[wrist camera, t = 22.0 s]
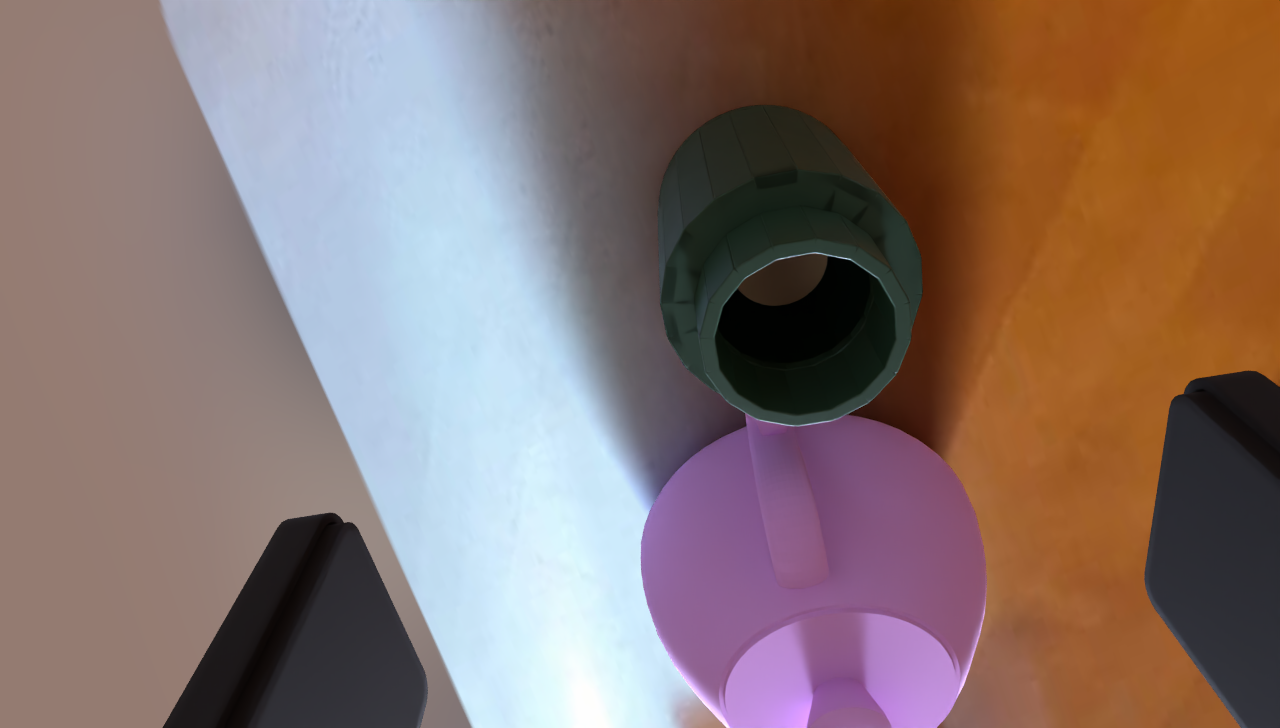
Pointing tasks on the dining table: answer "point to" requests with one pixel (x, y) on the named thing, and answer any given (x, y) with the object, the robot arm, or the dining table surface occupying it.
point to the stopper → (785, 280)
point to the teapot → (817, 577)
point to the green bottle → (776, 229)
